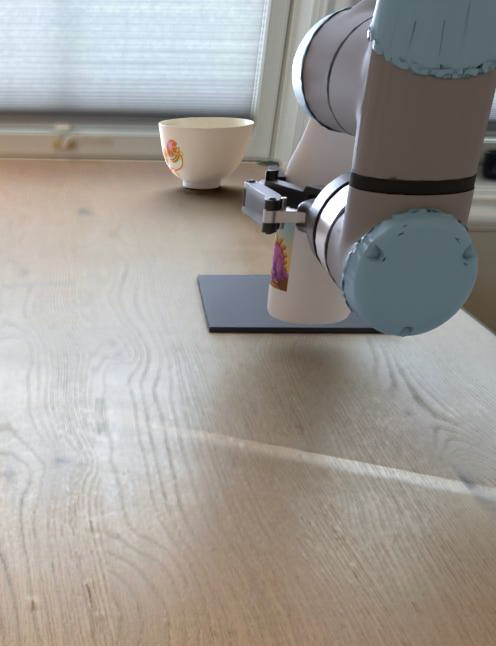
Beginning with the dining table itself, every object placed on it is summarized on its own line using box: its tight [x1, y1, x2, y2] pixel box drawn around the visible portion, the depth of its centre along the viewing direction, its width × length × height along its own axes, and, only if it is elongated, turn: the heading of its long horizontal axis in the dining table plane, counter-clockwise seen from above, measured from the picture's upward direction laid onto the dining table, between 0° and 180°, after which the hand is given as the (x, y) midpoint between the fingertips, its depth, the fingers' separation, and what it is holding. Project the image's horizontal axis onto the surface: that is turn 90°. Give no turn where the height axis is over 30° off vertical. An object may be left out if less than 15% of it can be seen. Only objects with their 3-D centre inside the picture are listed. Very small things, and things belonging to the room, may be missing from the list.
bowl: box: [158, 116, 255, 190], centre depth 169 cm, size 16×16×10 cm
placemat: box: [196, 274, 383, 334], centre depth 107 cm, size 22×18×1 cm
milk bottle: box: [267, 116, 356, 324], centre depth 88 cm, size 8×8×20 cm
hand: (316, 181), depth 91 cm, fingers closed on milk bottle, 8 cm apart
